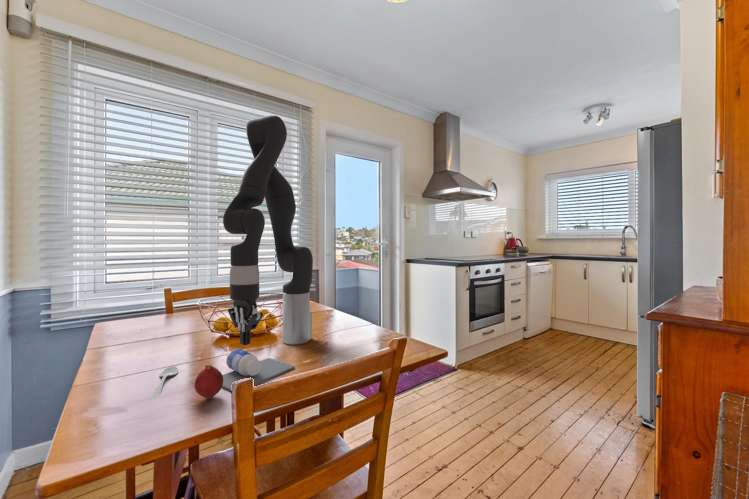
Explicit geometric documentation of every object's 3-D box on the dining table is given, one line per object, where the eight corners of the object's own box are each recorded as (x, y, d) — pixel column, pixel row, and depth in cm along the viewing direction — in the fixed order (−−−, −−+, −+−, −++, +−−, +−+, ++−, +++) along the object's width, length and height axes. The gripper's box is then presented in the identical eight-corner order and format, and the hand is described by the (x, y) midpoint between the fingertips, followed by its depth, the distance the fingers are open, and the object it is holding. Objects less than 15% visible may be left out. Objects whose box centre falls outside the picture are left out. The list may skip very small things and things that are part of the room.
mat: (268, 359, 97) (268, 357, 97) (294, 368, 91) (294, 366, 91) (209, 382, 82) (209, 379, 82) (236, 394, 76) (236, 391, 76)
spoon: (181, 369, 90) (180, 364, 90) (159, 407, 71) (159, 399, 71) (163, 372, 89) (163, 366, 89) (136, 410, 69) (136, 402, 69)
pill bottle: (247, 352, 92) (268, 360, 86) (237, 371, 90) (257, 381, 84) (232, 345, 88) (252, 354, 82) (221, 365, 86) (241, 375, 80)
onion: (201, 392, 76) (201, 359, 76) (227, 392, 77) (226, 358, 76) (190, 405, 70) (189, 369, 70) (217, 404, 71) (217, 368, 71)
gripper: (271, 282, 88) (272, 345, 89) (242, 278, 96) (242, 336, 96) (247, 285, 82) (247, 353, 83) (218, 281, 90) (218, 343, 90)
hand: (245, 344), depth 90 cm, fingers closed
